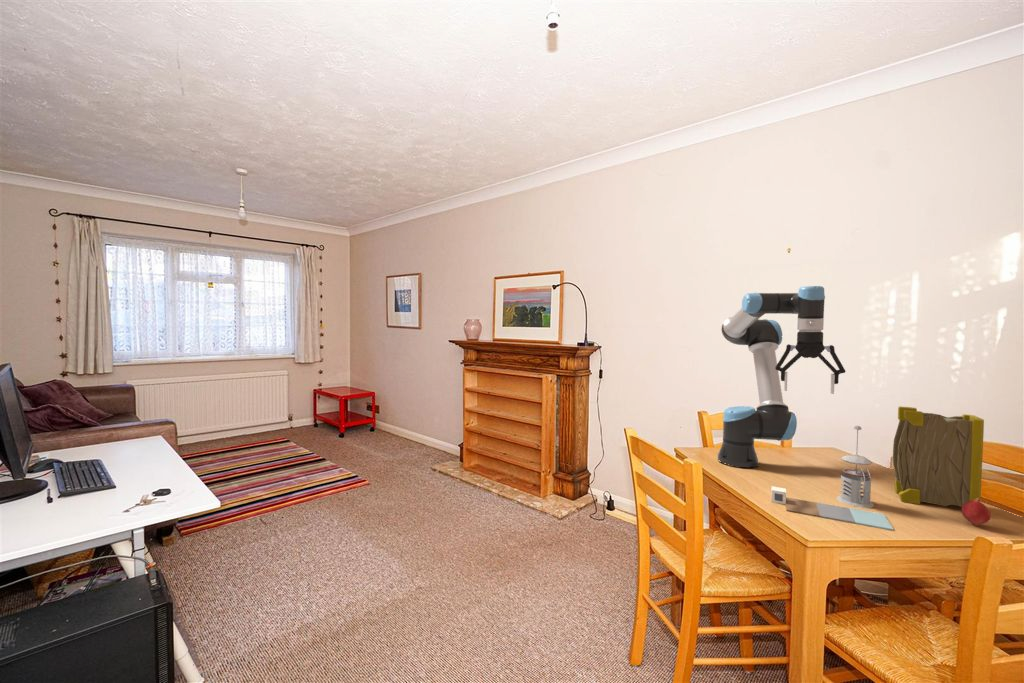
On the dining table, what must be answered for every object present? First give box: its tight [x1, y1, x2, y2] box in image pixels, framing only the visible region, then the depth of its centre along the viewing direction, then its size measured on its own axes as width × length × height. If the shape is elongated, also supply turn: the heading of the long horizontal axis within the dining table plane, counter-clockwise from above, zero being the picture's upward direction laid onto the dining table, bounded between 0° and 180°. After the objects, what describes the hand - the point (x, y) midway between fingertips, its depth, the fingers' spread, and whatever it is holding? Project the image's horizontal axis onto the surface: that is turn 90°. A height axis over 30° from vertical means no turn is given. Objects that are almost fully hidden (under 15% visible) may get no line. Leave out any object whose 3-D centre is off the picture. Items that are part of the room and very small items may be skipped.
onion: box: [961, 498, 992, 527], centre depth 129 cm, size 6×6×8 cm
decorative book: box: [892, 406, 985, 508], centre depth 146 cm, size 20×11×30 cm, turn 58°
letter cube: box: [770, 485, 787, 506], centre depth 145 cm, size 4×4×4 cm
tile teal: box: [848, 507, 894, 531], centre depth 132 cm, size 8×12×1 cm
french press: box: [836, 425, 875, 509], centre depth 145 cm, size 10×12×25 cm
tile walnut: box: [785, 496, 821, 518], centre depth 141 cm, size 8×12×1 cm
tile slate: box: [816, 501, 855, 524], centre depth 136 cm, size 8×12×1 cm
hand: (808, 391), depth 156 cm, fingers open, 13 cm apart
